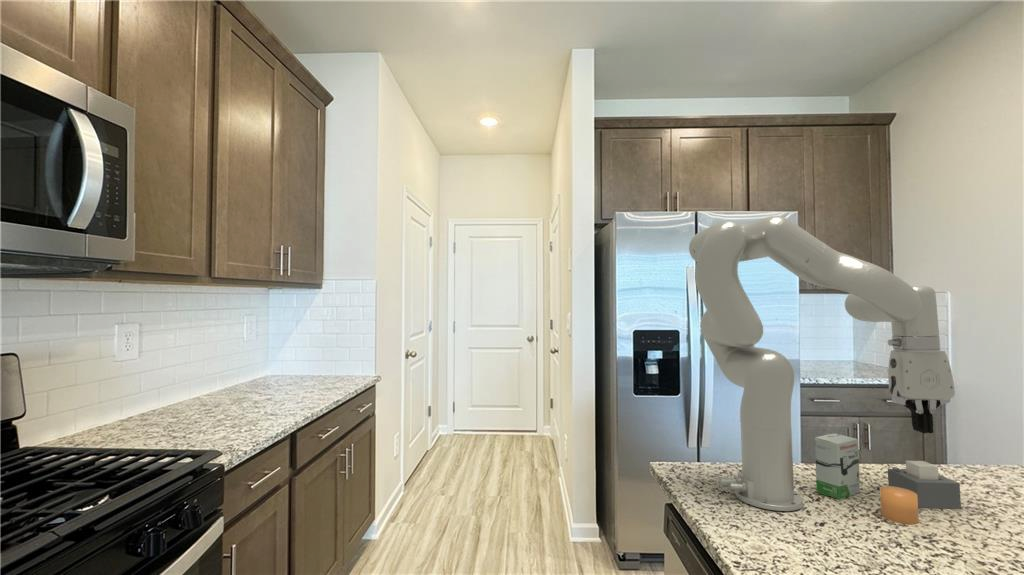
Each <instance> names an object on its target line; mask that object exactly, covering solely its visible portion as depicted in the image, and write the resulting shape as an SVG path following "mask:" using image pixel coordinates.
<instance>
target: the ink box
mask: <svg viewBox="0 0 1024 575" xmlns="http://www.w3.org/2000/svg"><path fill="white" fill-rule="evenodd" d="M814 445H815V446H814V448H815V449H814V450H815V453H814V455H815V483H816V484H815V487H816V493H818V494H821V495H825V496H828V497H830V496H831V497H830V498H834V497H835V499H837V498H838V499H837V500H842V499H841V498H843V499H845V498H848V497H851V496H854V495H857V494H859V492H860V493H861V487H860V485H861V481H860V480H861V479H860V476H861V475H860V456H859V455H860V453H859V451H860V450H859V439H858V438H855V437H851V436H847V435H843V434H839V433H830V434H824V435H821V436H816V437H814ZM856 493H857V494H856ZM853 494H854V495H853ZM850 495H851V496H850ZM847 496H848V497H847ZM844 497H845V498H844Z"/></svg>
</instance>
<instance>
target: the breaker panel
mask: <svg viewBox="0 0 1024 575" xmlns="http://www.w3.org/2000/svg"><path fill="white" fill-rule="evenodd" d="M887 478H888V479H887V480H888V481H887V482H888V486H894V487H900V488H904V489H907V490H910V491H913V492H915V493H916V494H917V498H918V509H919V508H920V509H921V508H922V509H946V510H947V509H950V510H951V509H952V510H955V509H956V510H961V509H962V504H961V501H962V500H961V485H960V483H959V482H957V481H955V480H952V479H950V478H948V477H946V476H943V475H940V474H939V473H938V479H939V480H920V479H917V478H915V477H913V476H910V475H908V474H906V468H899V467H897V466H892V467H891V468H887Z"/></svg>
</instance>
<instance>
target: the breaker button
mask: <svg viewBox="0 0 1024 575" xmlns="http://www.w3.org/2000/svg"><path fill="white" fill-rule="evenodd" d="M905 469H906V474H908V475H910V476H913V477H915V478H917V479H920V480H939V479H938V474H939V466H937V465H934V464H933V463H929V462H927V461H925V460H905Z"/></svg>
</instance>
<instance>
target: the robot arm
mask: <svg viewBox="0 0 1024 575" xmlns="http://www.w3.org/2000/svg"><path fill="white" fill-rule="evenodd" d="M688 251H689V255H690V256H691V258H692V260H694V261H695V262H696V263H695V271H694V281H695V287H696V288H697V292H698V294H699V297H700V298H701V300H702V303H703V305H704V307H705V309H706V311H705V312H704V314H703V315H702V318H701V321H700V329H701V332H702V336H703V339H704V340H705V342H706V344H707V346H708V348H709V350H710V352H711V354H712V356H713V357H714V360H715V361H716V363H717V365H718V367H719V368H720V370H721V372H722V373H723V375H724V376H725V377H726V379H727V380H728V381H730V382H731V383H732V384H733V385H735V386H738V387H740V388H743V392H742V396H741V401H740V407H739V410H740V411H739V422H740V446H741V447H740V448H741V471H737V475H734V476H733V477H728V476H725V477H724V476H723V477H722V476H719V477H718V484H719V485H718V486H720V487H721V488H722V487H723V488H724V487H725V488H727V487H728V488H729V490H730V491H734V494H735V496H736V497H737V499H738V500H740V501H741V502H743V503H745V504H747V505H750V506H752V507H756V508H759V509H764V510H768V511H769V510H770V511H776V512H793V511H797V510H800V509H802V508H803V507H804V498H803V497H802V496H801V495H800V494H798V493H797V492H795V487H794V486H795V484H794V482H795V481H794V480H795V478H794V457H793V436H792V435H793V432H792V431H793V430H792V398H793V393H794V392H793V391H794V386H795V371H794V367H793V365H792V364H791V362H790V360H789V359H788V358H787V357H786V356H785V355H783V354H782V353H780V352H777V351H775V350H772V349H768V348H763V347H756V346H755V345H756V344H757V343H759V342H760V341H761V339H762V337H763V335H764V326H763V323H762V320H761V318H760V317H759V314H758V313H757V311H756V309H755V308H754V306H753V303H752V302H751V300H750V298H749V297H748V295H747V293H746V291H745V289H744V286H743V285H742V283H741V280H740V277H739V274H738V273H739V272H738V267H739V263H741V262H748V261H752V260H758V259H763V258H767V257H768V258H770V259H771V260H773V261H774V262H776V263H778V264H779V265H780V266H782V267H783V268H785V269H786V270H787V271H789V272H790V273H793V274H794V275H795V276H796V277H798V278H800V280H803V281H804V282H806V283H808V284H811V285H815V286H818V287H822V288H829V289H833V290H838V291H842V292H845V293H848V295H847V296H846V298H845V301H844V308H845V312H846V313H847V314H848V315H849V316H850V317H852V318H854V319H856V320H858V321H862V322H870V323H880V322H881V323H883V322H884V323H890V324H891V335H892V336H891V339H887V344H888V346H890V347H892V348H893V350H891V351H890V353H889V359H888V369H887V372H888V374H887V376H888V377H887V378H888V379H887V380H888V382H887V383H888V390H889V393H890V395H891V402H892V403H895V404H897V405H902V406H904V407H905V408H907V410H908V411H909V412H910V413H911V414H910V415H911V416H910V417H911V424H912V429H913V430H914V431H916V432H919V433H922V434H928V433H929V434H934V420H933V416H934V415H933V414H935V413H936V411H937V409H938V408H939V406H940V405H945V404H948V403H950V402H951V399H952V398H954V397H955V383H954V377H953V376H954V375H953V372H952V368H951V367H952V366H951V364H950V361H949V358H948V355H947V353H946V351H945V350H941V343H940V342H941V340H940V329H939V317H938V316H939V315H938V306H937V304H938V303H937V294H936V291H935V289H934V288H933V287H930V286H925V285H923V286H922V285H920V286H918V285H916V286H913V285H912V286H911V285H910V284H909V283H908V282H906V281H904V280H903V279H902V278H900V277H899V276H897V275H895V274H894V273H892V272H891V271H889V270H887V269H885V268H884V267H881V266H879V265H877V264H875V263H872V262H868V261H865V260H863V259H860V258H858V257H855V256H852V255H849V254H846V253H843V252H839V251H837V250H835V249H833V247H830V246H829V245H828V244H826V243H825V242H823V241H821V240H820V239H818V238H817V237H815V236H814V235H812V234H811V233H809V232H808V231H807V230H805V229H803V227H800V225H797V224H796V223H794V222H793V221H791V220H790V219H789V218H786V217H784V216H779V215H772V216H768V217H765V218H763V219H759V220H757V221H754V222H752V223H749V224H744V225H741V224H740V223H738V222H737V221H731V220H725V221H721V222H720V221H719V222H718V223H715V224H712V225H710V226H709V227H706V228H704V229H702V230H700V231H698V232H697V233H695V235H693V237H692V238H691V240H690V242H689V246H688Z"/></svg>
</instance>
